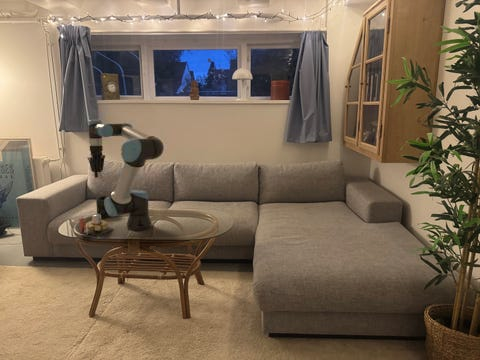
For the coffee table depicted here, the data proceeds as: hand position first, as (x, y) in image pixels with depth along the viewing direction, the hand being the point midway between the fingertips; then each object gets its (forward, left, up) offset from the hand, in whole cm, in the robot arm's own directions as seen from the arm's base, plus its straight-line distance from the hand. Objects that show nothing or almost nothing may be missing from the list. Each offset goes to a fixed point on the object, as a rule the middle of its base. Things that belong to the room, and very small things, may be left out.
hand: (97, 182), depth 235 cm
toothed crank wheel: (-10, +16, -25) cm, 31 cm away
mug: (+8, -12, -27) cm, 30 cm away
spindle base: (-11, +14, -26) cm, 32 cm away
